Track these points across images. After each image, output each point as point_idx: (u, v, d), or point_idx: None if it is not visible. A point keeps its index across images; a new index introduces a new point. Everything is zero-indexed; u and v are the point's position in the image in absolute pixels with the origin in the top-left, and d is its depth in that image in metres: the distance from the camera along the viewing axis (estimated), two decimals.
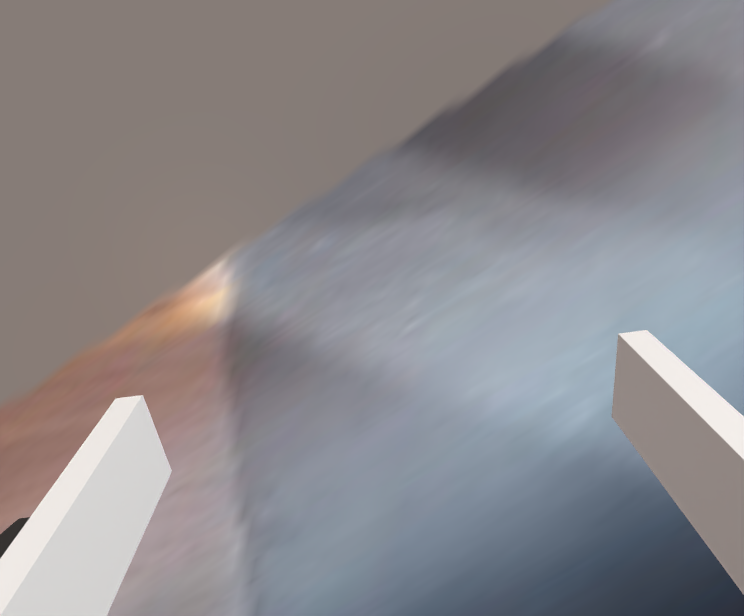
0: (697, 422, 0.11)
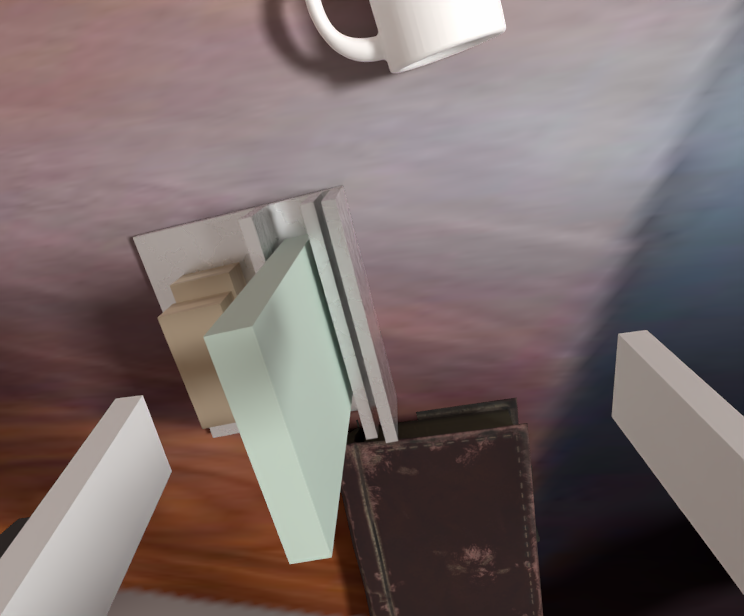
0: (697, 422, 0.11)
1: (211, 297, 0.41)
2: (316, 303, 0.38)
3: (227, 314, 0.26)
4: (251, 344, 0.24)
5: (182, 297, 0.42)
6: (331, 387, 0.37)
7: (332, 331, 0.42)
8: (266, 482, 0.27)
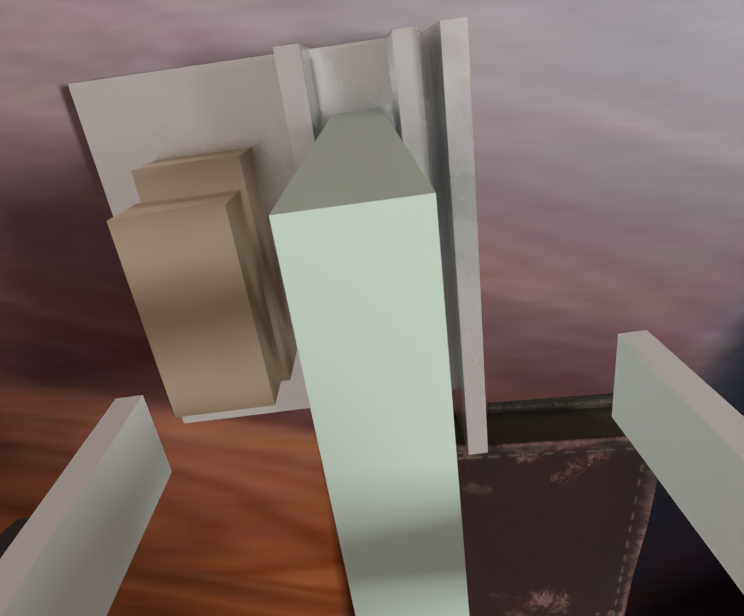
0: (697, 422, 0.11)
1: (205, 197, 0.23)
2: None
3: (308, 177, 0.10)
4: (417, 252, 0.08)
5: (151, 194, 0.24)
6: None
7: None
8: (372, 606, 0.11)
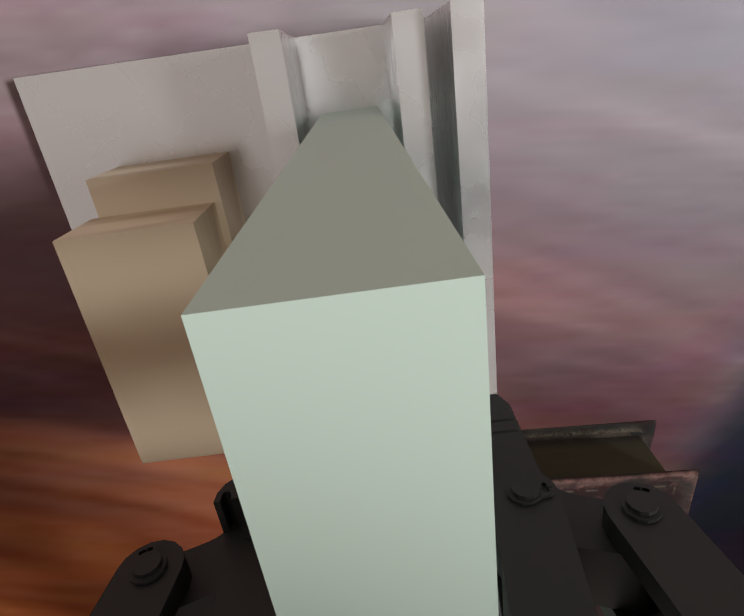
0: None
1: (173, 211, 0.20)
2: None
3: (271, 219, 0.07)
4: (447, 373, 0.04)
5: (111, 208, 0.21)
6: None
7: None
8: None
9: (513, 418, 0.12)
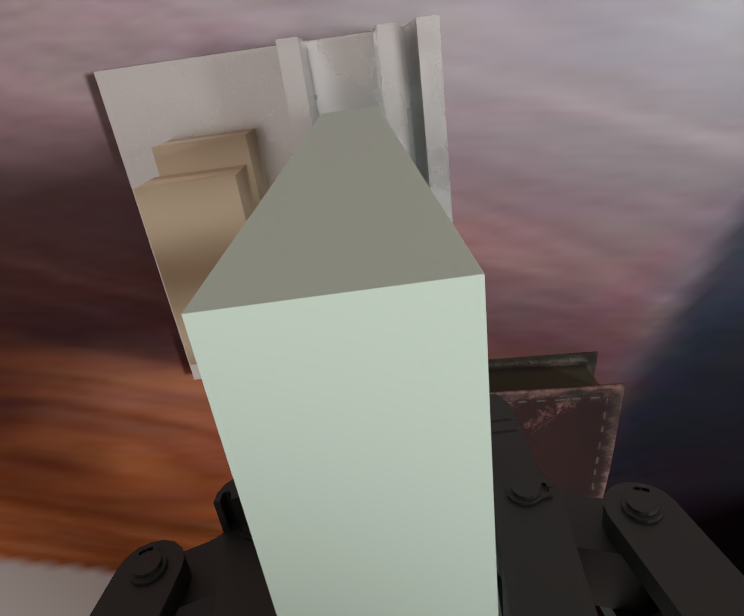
0: None
1: (216, 170, 0.27)
2: None
3: (272, 218, 0.07)
4: (447, 371, 0.04)
5: (169, 168, 0.28)
6: None
7: None
8: None
9: (513, 418, 0.12)
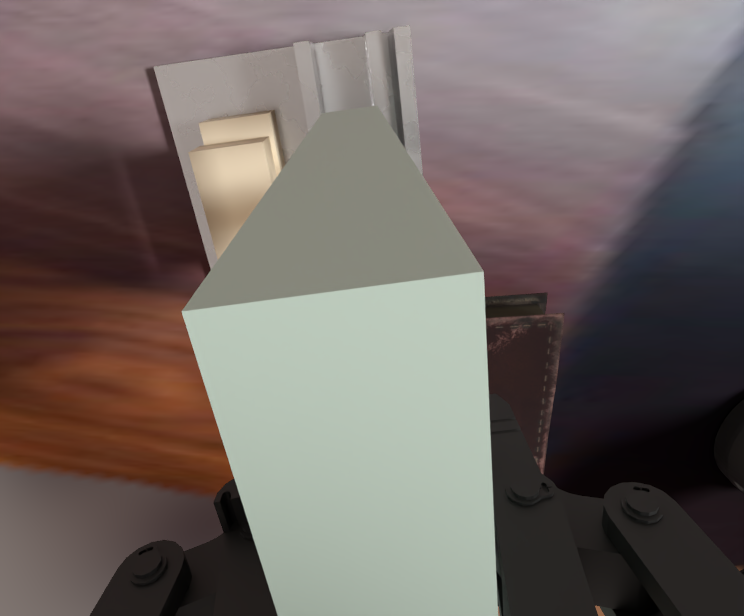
0: None
1: (247, 140, 0.36)
2: None
3: (271, 216, 0.07)
4: (447, 367, 0.04)
5: (211, 139, 0.37)
6: None
7: None
8: None
9: (513, 418, 0.12)
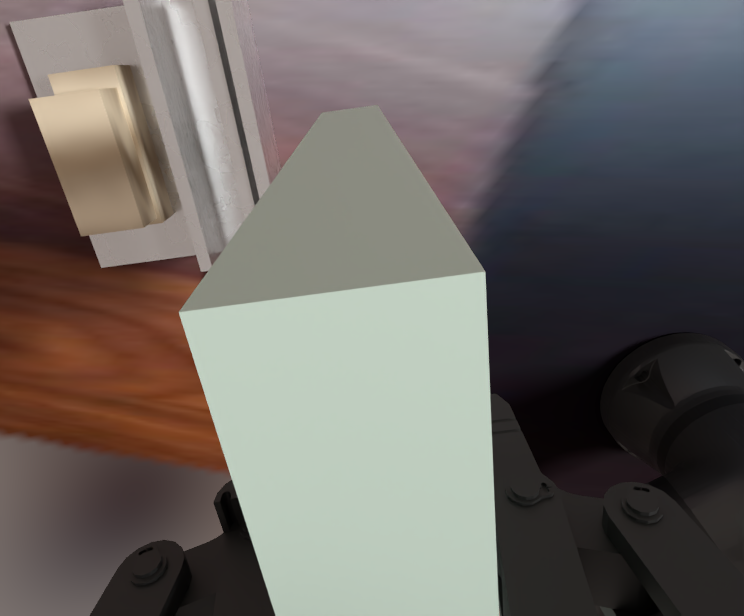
0: None
1: None
2: None
3: (270, 217, 0.07)
4: (448, 369, 0.04)
5: (61, 90, 0.39)
6: None
7: None
8: None
9: (513, 418, 0.12)
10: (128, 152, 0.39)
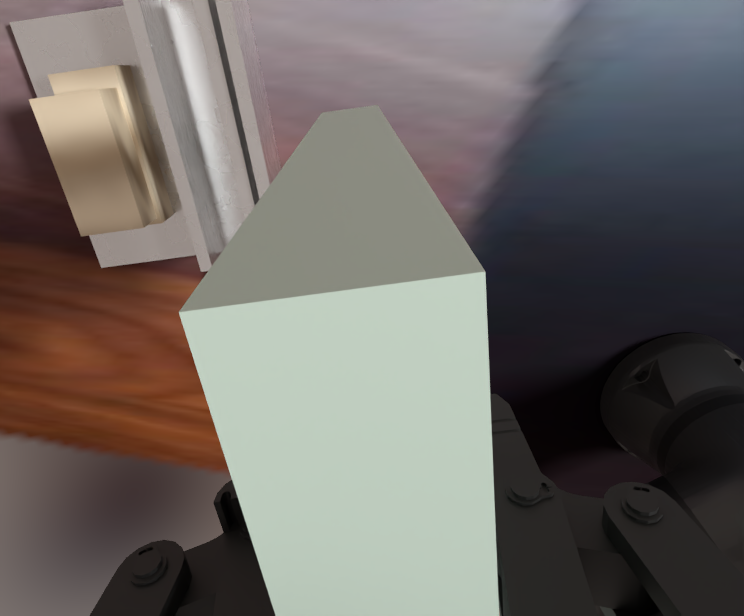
0: None
1: None
2: None
3: (271, 216, 0.06)
4: (448, 370, 0.04)
5: (61, 90, 0.39)
6: None
7: None
8: None
9: (513, 418, 0.12)
10: (128, 152, 0.39)
